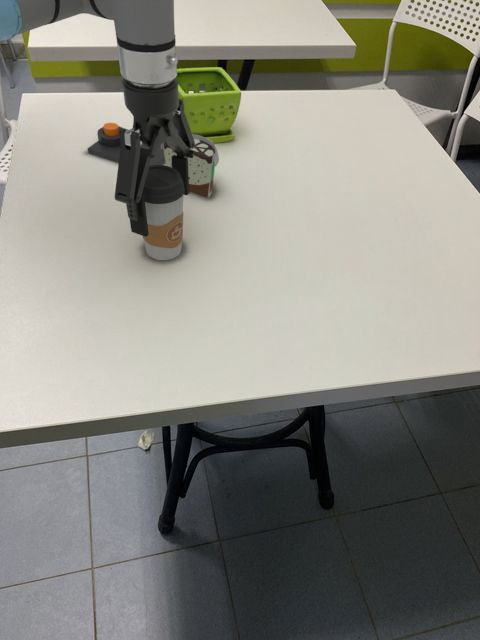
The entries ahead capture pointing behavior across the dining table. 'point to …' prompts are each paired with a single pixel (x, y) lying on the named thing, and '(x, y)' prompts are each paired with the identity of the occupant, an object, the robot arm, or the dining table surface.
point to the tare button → (111, 129)
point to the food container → (198, 165)
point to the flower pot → (209, 102)
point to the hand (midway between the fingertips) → (161, 212)
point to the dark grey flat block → (117, 148)
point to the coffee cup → (163, 212)
